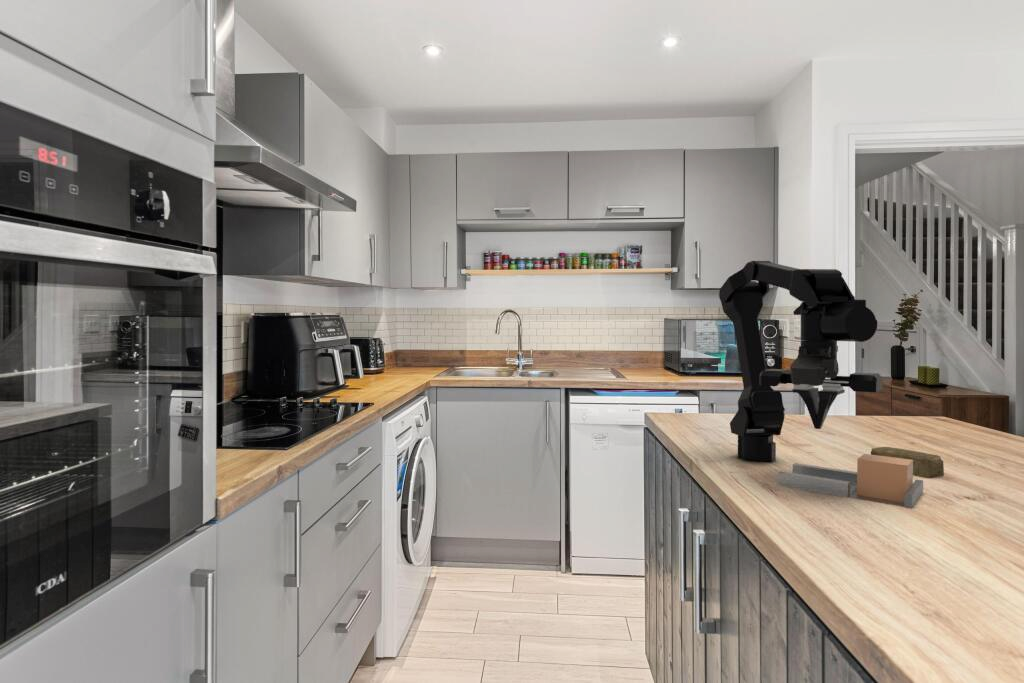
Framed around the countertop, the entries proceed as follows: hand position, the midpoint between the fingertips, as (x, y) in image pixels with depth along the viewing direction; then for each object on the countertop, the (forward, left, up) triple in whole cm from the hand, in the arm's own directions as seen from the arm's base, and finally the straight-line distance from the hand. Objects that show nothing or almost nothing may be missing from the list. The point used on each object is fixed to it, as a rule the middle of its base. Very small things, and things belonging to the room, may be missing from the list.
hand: (818, 428), depth 105 cm
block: (+10, 0, -10) cm, 14 cm away
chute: (+5, 0, -11) cm, 12 cm away
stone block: (+10, +21, -11) cm, 26 cm away
